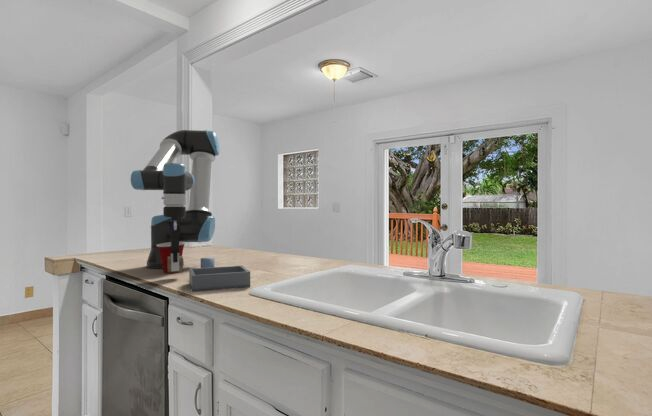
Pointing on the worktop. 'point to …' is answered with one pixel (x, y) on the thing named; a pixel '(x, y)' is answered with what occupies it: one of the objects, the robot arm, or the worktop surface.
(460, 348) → the worktop surface
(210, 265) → the slate cylinder
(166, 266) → the plastic cup
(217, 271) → the tote
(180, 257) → the walnut cube
